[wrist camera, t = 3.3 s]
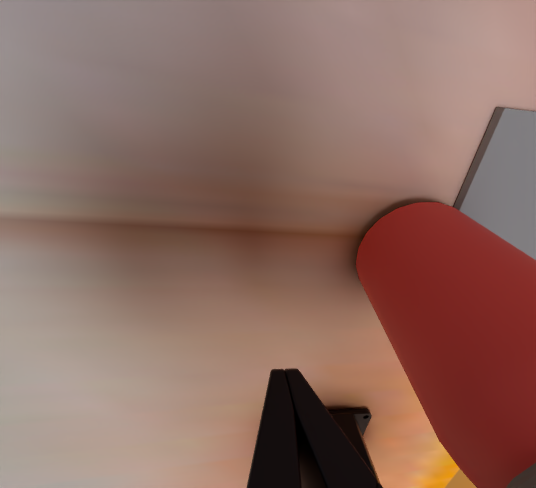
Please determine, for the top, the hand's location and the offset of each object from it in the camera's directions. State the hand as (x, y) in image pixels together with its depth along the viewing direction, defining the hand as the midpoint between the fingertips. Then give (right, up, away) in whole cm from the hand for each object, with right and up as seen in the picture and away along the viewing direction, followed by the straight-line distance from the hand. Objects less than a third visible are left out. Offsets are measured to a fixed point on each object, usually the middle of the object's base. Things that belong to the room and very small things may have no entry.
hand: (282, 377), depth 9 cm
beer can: (+8, +4, +8) cm, 12 cm away
